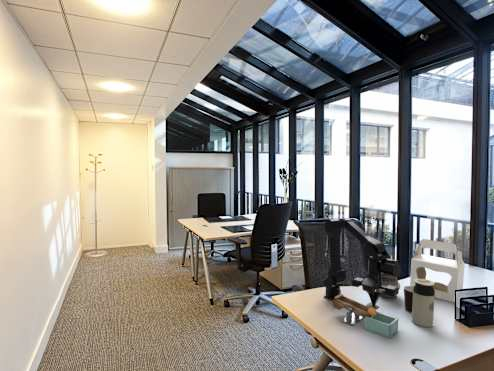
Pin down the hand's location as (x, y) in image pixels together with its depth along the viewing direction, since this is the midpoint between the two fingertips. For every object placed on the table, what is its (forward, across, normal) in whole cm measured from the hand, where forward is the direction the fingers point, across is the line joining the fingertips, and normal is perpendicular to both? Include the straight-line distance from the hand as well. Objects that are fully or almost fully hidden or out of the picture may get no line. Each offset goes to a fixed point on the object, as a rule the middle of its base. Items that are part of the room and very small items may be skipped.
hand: (373, 305), depth 143 cm
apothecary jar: (+5, -5, +29) cm, 30 cm away
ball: (-1, +3, -10) cm, 11 cm away
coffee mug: (+5, +11, +21) cm, 24 cm away
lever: (+2, -5, -6) cm, 8 cm away
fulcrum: (+5, -5, -10) cm, 12 cm away
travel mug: (+5, +17, +9) cm, 20 cm away
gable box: (+5, +12, +52) cm, 54 cm away
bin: (+5, +7, -10) cm, 13 cm away
